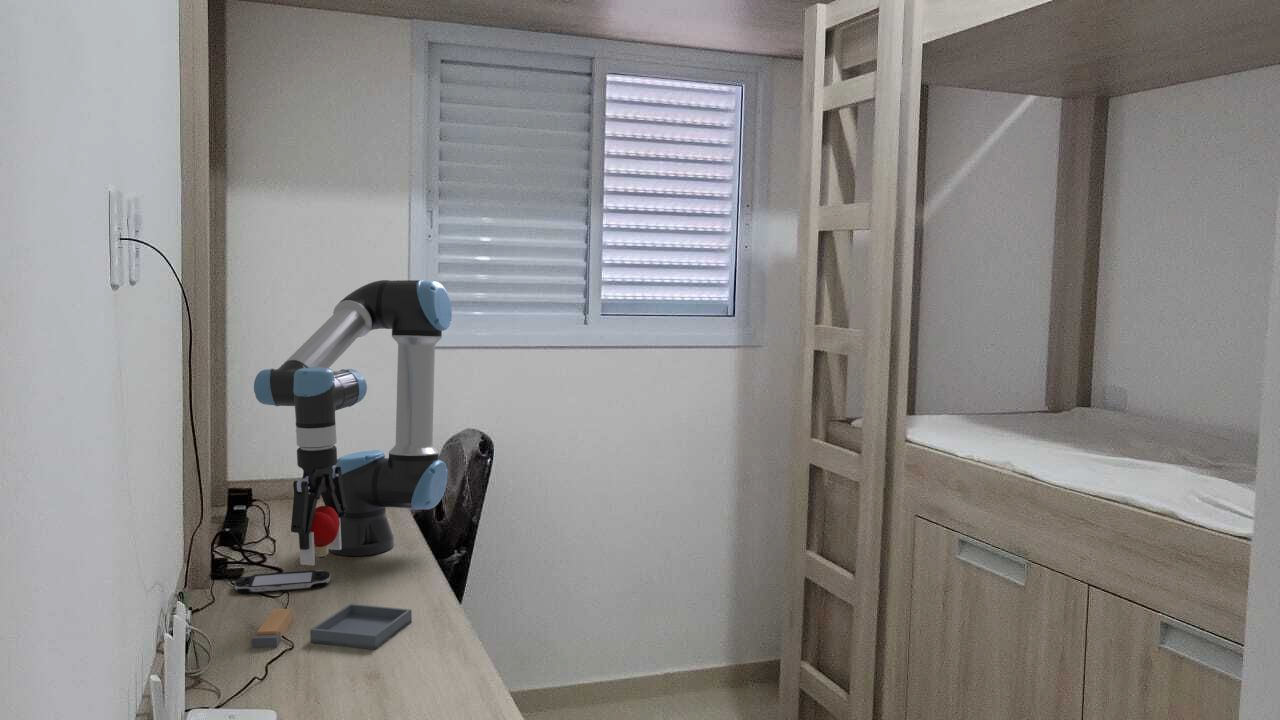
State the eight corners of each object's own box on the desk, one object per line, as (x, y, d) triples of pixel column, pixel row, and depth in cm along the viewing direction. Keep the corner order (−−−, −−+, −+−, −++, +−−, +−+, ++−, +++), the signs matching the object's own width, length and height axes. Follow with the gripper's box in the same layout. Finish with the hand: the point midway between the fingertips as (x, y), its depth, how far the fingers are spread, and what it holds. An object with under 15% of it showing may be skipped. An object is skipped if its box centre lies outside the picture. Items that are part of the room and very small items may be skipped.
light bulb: (326, 566, 201) (323, 516, 200) (293, 564, 203) (290, 514, 201) (348, 551, 210) (346, 503, 209) (317, 549, 212) (314, 501, 210)
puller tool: (271, 621, 201) (270, 609, 201) (294, 620, 201) (294, 608, 201) (251, 649, 187) (251, 635, 187) (276, 648, 187) (276, 635, 187)
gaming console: (331, 578, 229) (330, 567, 228) (329, 590, 220) (328, 579, 220) (237, 584, 224) (237, 573, 224) (232, 597, 215) (231, 585, 215)
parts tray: (350, 616, 203) (350, 603, 203) (411, 622, 200) (411, 609, 200) (310, 642, 190) (310, 629, 190) (375, 649, 187) (375, 636, 186)
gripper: (329, 434, 215) (333, 539, 218) (266, 457, 194) (272, 572, 197) (361, 436, 213) (365, 541, 216) (302, 459, 192) (307, 575, 195)
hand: (321, 556), depth 206 cm, fingers closed on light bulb, 9 cm apart
